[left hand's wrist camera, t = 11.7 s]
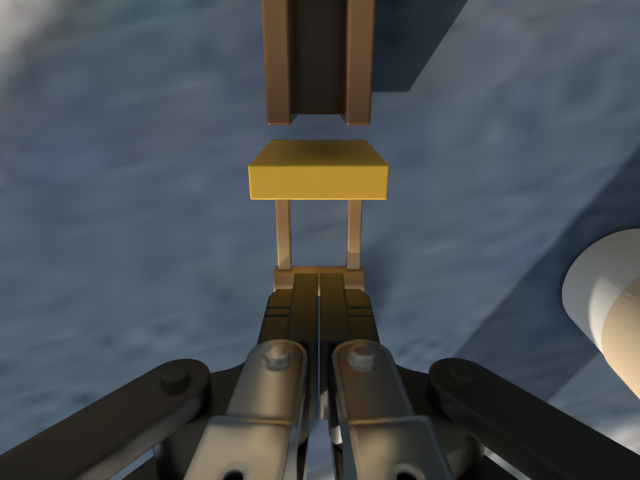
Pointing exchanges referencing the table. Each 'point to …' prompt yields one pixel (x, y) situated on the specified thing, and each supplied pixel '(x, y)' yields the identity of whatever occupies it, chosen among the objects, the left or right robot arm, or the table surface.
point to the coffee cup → (609, 301)
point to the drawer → (318, 98)
